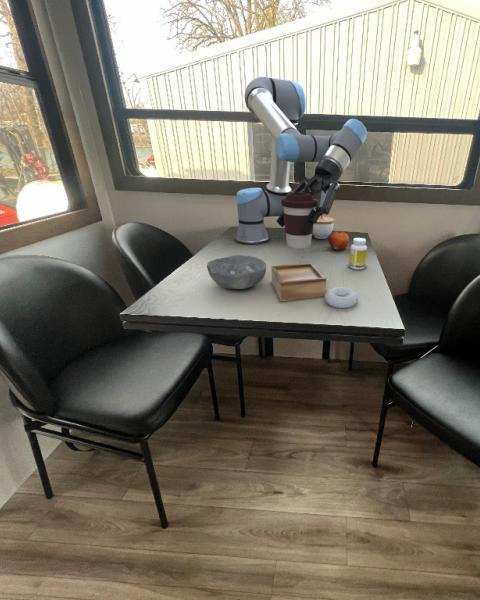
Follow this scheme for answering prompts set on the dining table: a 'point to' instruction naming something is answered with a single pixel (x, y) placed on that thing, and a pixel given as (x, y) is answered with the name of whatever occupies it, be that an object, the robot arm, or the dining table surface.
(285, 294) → the wooden box
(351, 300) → the donut
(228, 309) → the dining table surface
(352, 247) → the pill bottle
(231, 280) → the bowl
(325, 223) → the lidded bowl
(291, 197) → the coffee cup
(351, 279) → the dining table surface
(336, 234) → the tomato
